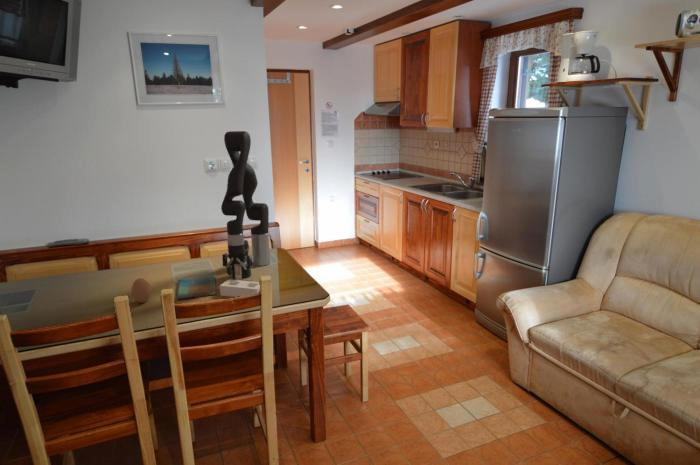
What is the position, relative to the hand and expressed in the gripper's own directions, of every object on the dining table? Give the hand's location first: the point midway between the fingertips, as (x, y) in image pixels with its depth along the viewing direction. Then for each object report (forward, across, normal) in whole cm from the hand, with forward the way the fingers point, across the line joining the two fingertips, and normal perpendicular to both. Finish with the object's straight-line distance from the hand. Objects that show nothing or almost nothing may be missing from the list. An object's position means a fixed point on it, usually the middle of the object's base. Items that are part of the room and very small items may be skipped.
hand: (238, 275), depth 205 cm
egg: (+5, +30, +29) cm, 42 cm away
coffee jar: (+5, +4, -10) cm, 12 cm away
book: (+5, +16, +10) cm, 20 cm away
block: (+4, -8, +11) cm, 14 cm away
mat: (+4, 0, 0) cm, 4 cm away
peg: (+4, 0, 0) cm, 4 cm away
